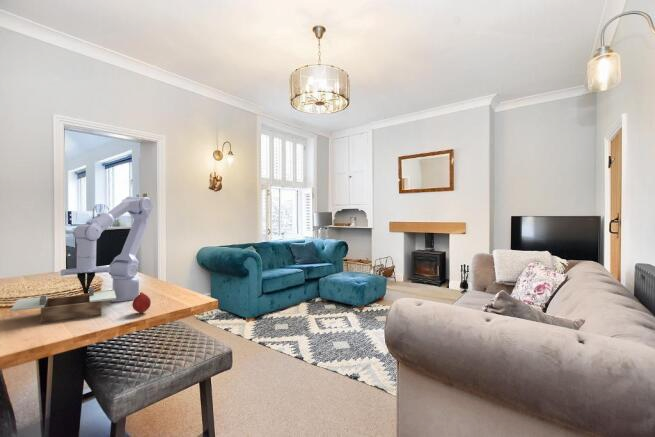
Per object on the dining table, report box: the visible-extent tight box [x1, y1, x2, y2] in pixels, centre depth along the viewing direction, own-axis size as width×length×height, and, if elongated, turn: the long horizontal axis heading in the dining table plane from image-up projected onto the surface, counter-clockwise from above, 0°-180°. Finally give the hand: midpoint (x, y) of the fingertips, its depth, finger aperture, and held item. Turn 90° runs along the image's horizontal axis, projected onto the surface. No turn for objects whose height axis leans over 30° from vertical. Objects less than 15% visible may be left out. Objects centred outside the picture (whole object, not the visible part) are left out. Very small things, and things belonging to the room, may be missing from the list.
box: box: [40, 293, 102, 324], centre depth 113 cm, size 16×13×5 cm
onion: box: [131, 291, 152, 315], centre depth 117 cm, size 6×6×8 cm
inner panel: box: [88, 286, 116, 302], centre depth 118 cm, size 8×13×3 cm, turn 37°
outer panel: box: [10, 295, 49, 312], centre depth 106 cm, size 8×13×3 cm, turn 37°
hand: (85, 293), depth 118 cm, fingers closed
